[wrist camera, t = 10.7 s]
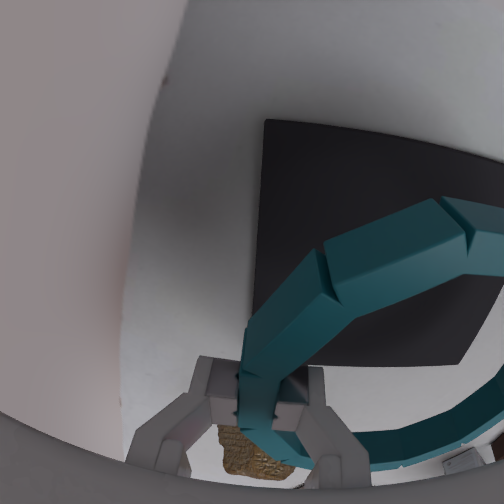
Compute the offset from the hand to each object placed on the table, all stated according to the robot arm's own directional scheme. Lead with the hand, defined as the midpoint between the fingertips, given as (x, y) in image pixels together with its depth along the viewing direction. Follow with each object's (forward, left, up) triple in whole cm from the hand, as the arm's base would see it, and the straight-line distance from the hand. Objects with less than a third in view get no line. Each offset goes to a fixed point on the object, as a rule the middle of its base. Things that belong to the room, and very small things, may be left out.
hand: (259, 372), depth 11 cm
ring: (0, +6, -1) cm, 6 cm away
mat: (0, +7, -7) cm, 10 cm away
